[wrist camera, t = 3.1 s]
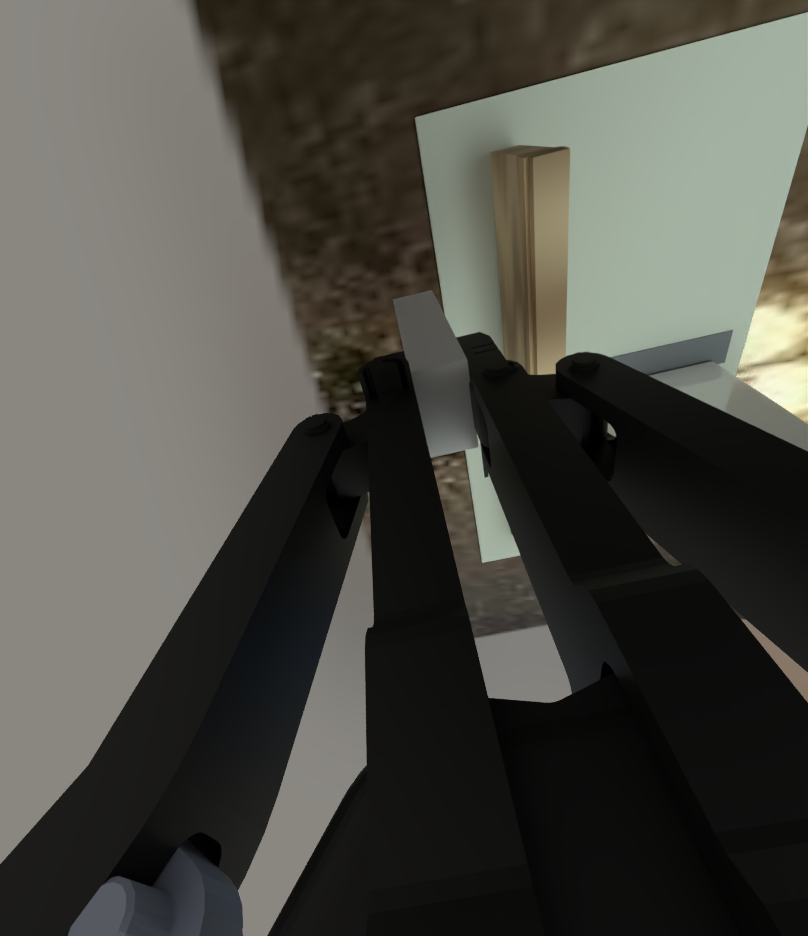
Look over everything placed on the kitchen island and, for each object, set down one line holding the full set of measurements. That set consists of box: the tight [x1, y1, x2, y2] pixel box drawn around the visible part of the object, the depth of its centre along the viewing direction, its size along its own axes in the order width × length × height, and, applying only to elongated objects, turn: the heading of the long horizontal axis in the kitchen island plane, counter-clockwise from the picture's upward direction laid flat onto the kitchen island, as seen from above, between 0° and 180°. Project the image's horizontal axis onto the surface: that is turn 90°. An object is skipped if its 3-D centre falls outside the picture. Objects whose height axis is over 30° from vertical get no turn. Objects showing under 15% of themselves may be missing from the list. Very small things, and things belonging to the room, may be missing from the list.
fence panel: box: [491, 145, 570, 375], centre depth 20 cm, size 11×2×6 cm, turn 12°
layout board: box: [415, 12, 808, 563], centre depth 26 cm, size 29×17×1 cm, turn 12°
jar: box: [607, 362, 808, 619], centre depth 24 cm, size 9×8×12 cm
